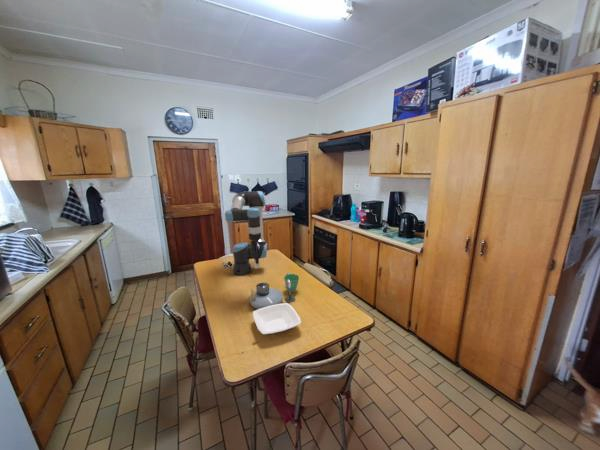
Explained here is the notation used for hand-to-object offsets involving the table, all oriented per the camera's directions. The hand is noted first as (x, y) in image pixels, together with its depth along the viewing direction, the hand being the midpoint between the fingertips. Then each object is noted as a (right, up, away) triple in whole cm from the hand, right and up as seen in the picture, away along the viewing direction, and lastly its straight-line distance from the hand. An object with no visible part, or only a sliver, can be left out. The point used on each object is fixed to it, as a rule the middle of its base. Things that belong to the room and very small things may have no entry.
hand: (256, 267), depth 158 cm
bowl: (+16, -26, -29) cm, 42 cm away
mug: (+22, -17, +9) cm, 29 cm away
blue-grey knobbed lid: (+7, -19, -8) cm, 22 cm away
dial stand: (+22, -20, -5) cm, 30 cm away
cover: (+5, -15, -4) cm, 17 cm away
